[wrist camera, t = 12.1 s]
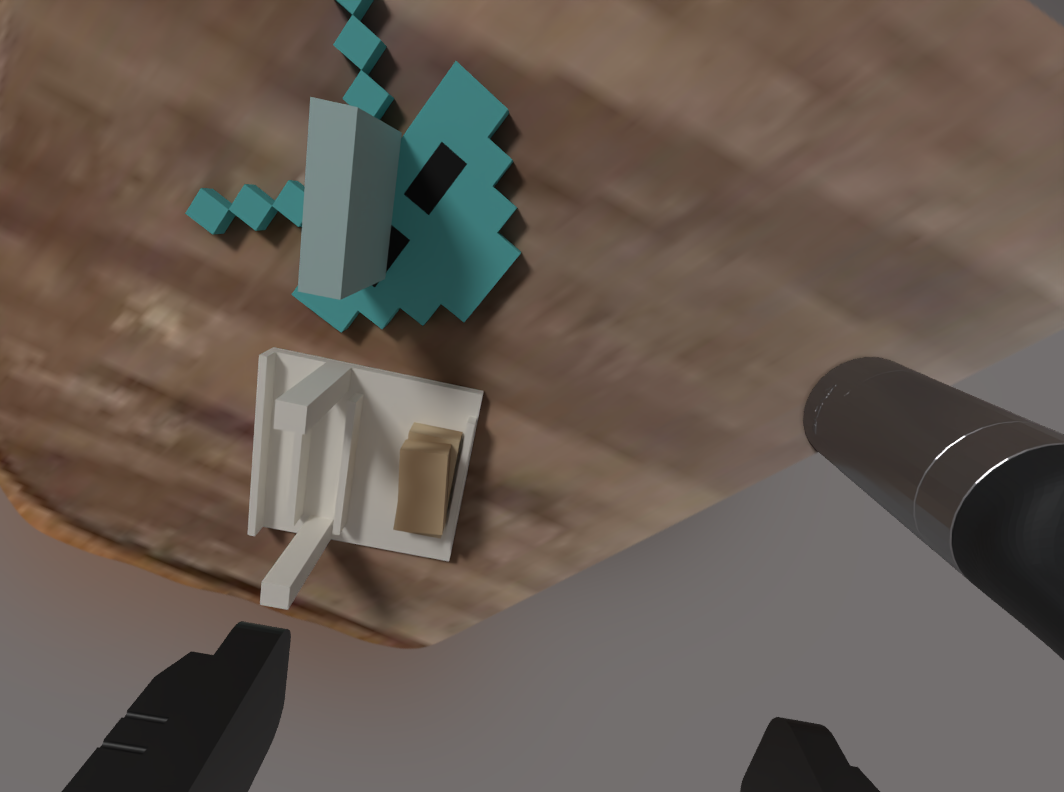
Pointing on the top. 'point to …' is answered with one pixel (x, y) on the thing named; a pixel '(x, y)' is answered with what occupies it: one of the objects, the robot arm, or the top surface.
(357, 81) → the alien figure
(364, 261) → the grey-green square slab
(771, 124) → the top surface
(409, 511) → the offcut top
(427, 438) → the offcut low
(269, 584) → the rack
